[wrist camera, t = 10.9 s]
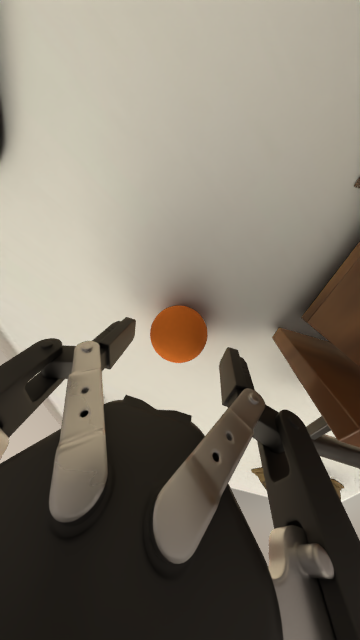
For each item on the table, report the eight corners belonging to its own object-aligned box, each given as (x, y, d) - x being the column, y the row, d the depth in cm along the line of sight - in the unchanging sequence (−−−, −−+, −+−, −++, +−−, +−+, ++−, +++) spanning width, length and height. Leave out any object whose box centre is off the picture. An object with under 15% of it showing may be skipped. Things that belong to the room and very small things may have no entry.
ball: (156, 332, 16) (138, 365, 12) (164, 291, 14) (144, 314, 10) (199, 344, 16) (195, 382, 12) (214, 305, 14) (217, 335, 9)
